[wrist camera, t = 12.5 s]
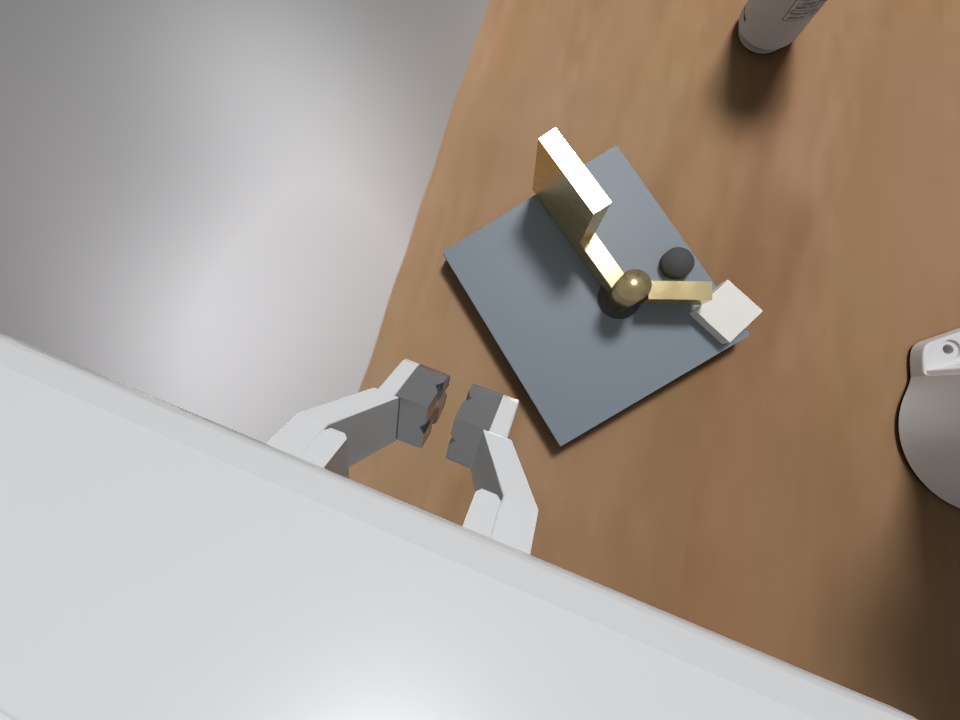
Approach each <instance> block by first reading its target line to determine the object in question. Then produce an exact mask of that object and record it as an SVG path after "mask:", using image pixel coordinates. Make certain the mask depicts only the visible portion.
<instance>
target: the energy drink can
mask: <svg viewBox="0 0 960 720" xmlns="http://www.w3.org/2000/svg"><path fill="white" fill-rule="evenodd" d="M826 1H827V0H748V1H747V3H746V4H745V6H744V8H743V9H742V11H741V14H740V17H739V29H738V35H739V39H740V41H741V43H742V44H743V45H744V46H745V47H746V48H747V49H749V50H750V51H753V52H756V53H770V52H774V51H776V50H778V49H779V48H782V47H784V46H787V45H788V44H790V43H791V42H793V41H794V40H795V39H796V38H797V36H798V35H799V34H800V33H801V32H802V30H803V29H804V28H805V27H806V25H807V24H808V23H809V22H810V20H811V19H812V18H813V17H814V16H815V14H816V13H817V12H818V11H819V9H820V8H821V7H822V6H823V4H824V3H825V2H826Z"/></svg>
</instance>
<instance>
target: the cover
mask: <svg viewBox="0 0 960 720" xmlns="http://www.w3.org/2000/svg"><path fill="white" fill-rule="evenodd" d="M761 312H762V310H761V309H760V308H759V307H758V306H757V305H756V304H755V303H753V302H752V301H751V300H750V299H749V298H748V297H747V296H746V295H745V294H743V293H742V292H741V291H740V290H739V289H738V288H737V287H736V286H734V285H733V284H732V283H731V282H730V281H729V280H726V281H724V282H722V283H720V284H719V285H718V286H717V287H716V288H715V289H714V290H713V291H712V300H711V301H709V302H707V303H704V304H702V305H697V306H696V307H695V308H694V309H693V310H692V311H691V312H690V313H689V314H690V315H691V316H692V317H693V318H694V319H695V320H696V321H697V322H698V323H700V324H701V325H702V326H703V327H704V328H705V329H706V330H707V331H708V332H709V333H710V334H711V335H712V336H714V337H715V338H716V339H717V340H718V341H719V342H720V343H721V344H725V343H730V342H731V341H732V340H733V339H734V338H735V337H736V336H737V335H738V334H739V333H740V332H741V331H742V330H744V329H745V328H746V327H747V326H748V325H749V324H750V323H751V322H752V321H753V320H754V319H755V318H756V317H757V316H758V315H759V314H760V313H761Z"/></svg>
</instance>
